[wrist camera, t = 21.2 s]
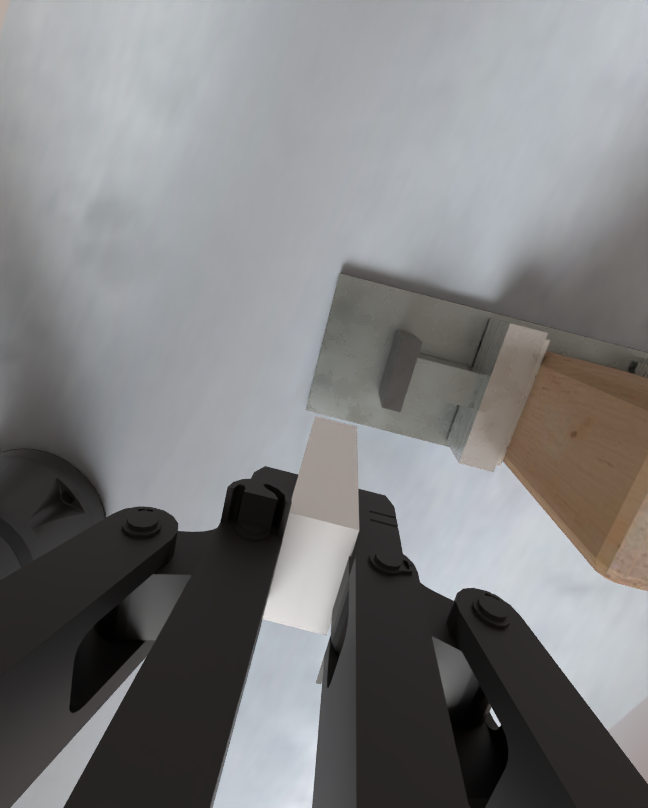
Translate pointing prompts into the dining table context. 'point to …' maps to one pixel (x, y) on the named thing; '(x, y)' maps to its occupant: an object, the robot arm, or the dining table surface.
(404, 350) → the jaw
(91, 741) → the dining table surface
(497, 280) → the dining table surface
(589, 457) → the wooden block
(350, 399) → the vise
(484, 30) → the dining table surface
